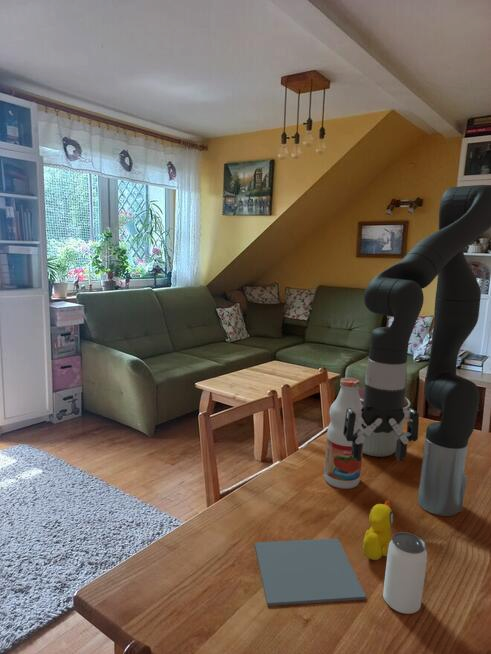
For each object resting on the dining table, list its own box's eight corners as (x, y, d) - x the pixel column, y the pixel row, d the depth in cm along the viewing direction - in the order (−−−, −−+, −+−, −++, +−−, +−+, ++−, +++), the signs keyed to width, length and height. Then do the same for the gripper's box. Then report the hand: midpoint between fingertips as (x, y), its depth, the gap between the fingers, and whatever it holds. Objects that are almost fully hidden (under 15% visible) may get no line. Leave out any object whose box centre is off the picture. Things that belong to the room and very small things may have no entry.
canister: (357, 431, 153) (362, 371, 149) (412, 447, 143) (419, 383, 139) (333, 450, 139) (339, 384, 135) (393, 470, 129) (401, 399, 124)
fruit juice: (345, 468, 128) (354, 373, 123) (367, 485, 120) (377, 384, 114) (317, 474, 125) (324, 376, 119) (336, 492, 116) (345, 387, 111)
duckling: (372, 532, 101) (376, 491, 99) (396, 541, 98) (401, 499, 96) (354, 561, 92) (358, 517, 90) (381, 573, 89) (386, 527, 87)
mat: (337, 540, 98) (337, 538, 98) (365, 599, 82) (366, 596, 82) (254, 545, 96) (254, 542, 96) (267, 606, 80) (267, 603, 80)
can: (377, 587, 85) (383, 530, 83) (411, 586, 86) (418, 529, 83) (391, 616, 79) (398, 555, 77) (427, 615, 80) (435, 554, 77)
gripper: (413, 376, 93) (405, 450, 96) (343, 375, 92) (338, 450, 95) (429, 388, 85) (420, 468, 89) (354, 388, 84) (348, 468, 88)
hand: (377, 459), depth 92 cm, fingers open, 8 cm apart
